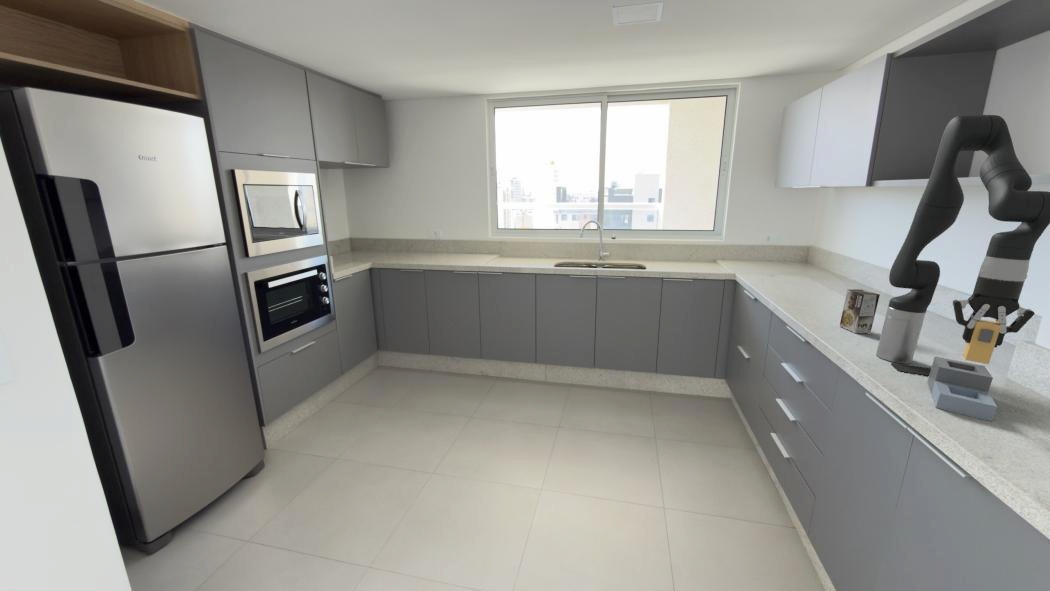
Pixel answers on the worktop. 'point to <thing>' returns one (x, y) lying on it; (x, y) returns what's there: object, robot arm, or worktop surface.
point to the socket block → (961, 388)
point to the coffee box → (859, 310)
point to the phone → (911, 369)
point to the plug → (982, 341)
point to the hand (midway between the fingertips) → (980, 343)
